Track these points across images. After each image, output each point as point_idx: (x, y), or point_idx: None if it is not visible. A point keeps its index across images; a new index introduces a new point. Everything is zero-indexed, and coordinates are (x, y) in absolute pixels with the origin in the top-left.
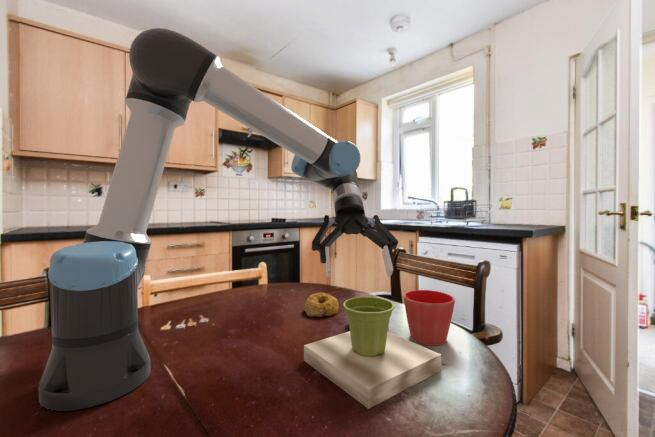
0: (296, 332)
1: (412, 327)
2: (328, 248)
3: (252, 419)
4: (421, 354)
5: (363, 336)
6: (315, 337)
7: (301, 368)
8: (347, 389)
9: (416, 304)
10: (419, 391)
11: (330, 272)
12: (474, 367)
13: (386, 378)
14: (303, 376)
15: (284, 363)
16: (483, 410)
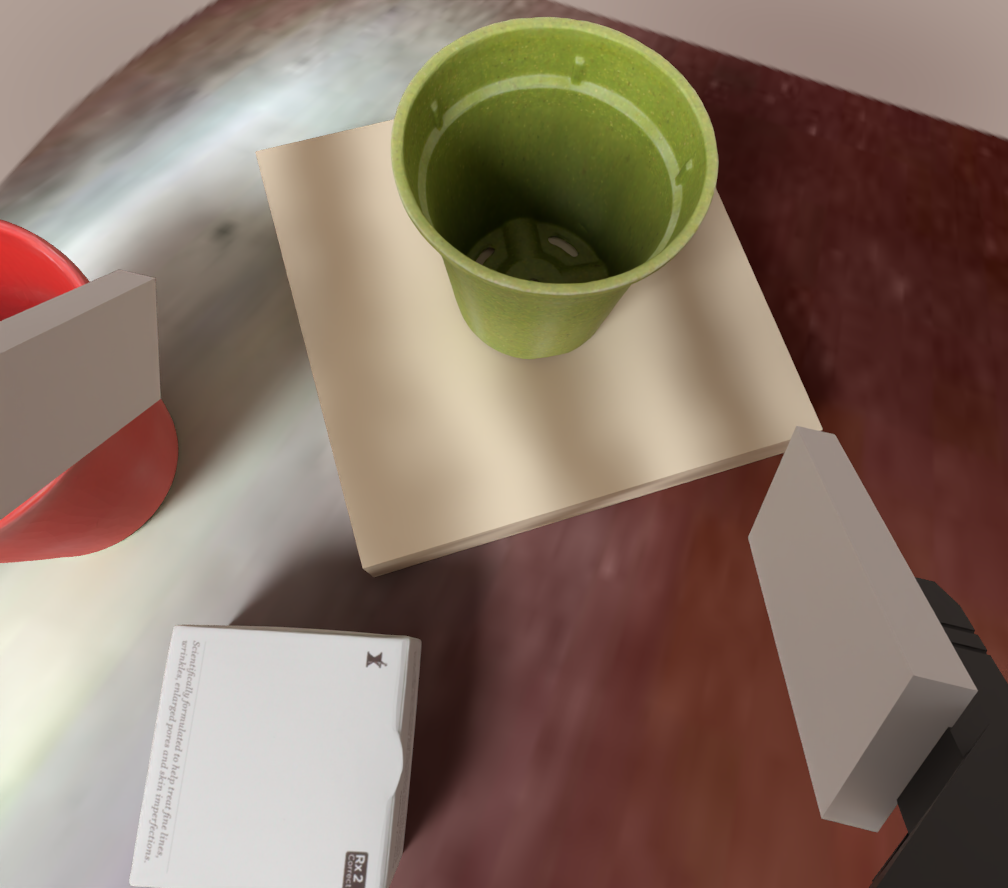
0: (783, 812)
1: (164, 428)
2: (903, 639)
3: (986, 173)
4: (334, 178)
5: (603, 174)
6: (682, 692)
7: (810, 392)
8: None
9: None
10: None
11: (785, 454)
12: (128, 173)
13: None
14: (810, 333)
15: (878, 456)
16: (323, 2)
